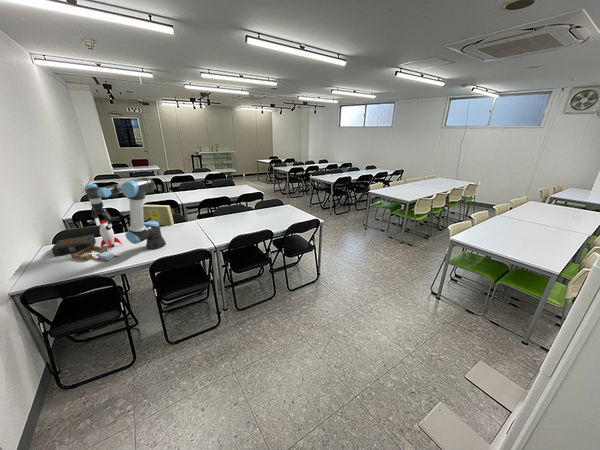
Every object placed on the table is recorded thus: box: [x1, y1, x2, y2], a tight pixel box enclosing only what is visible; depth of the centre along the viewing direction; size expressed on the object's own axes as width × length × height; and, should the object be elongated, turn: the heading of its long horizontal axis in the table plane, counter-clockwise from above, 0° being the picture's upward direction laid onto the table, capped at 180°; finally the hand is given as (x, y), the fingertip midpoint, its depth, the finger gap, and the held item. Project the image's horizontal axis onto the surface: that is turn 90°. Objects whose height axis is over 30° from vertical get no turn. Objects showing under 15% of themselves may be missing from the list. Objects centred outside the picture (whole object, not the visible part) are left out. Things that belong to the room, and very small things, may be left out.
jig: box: [70, 245, 119, 263], centre depth 194 cm, size 34×16×4 cm, turn 73°
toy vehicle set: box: [143, 204, 175, 226], centre depth 257 cm, size 35×5×22 cm, turn 85°
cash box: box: [51, 234, 97, 257], centre depth 206 cm, size 25×20×8 cm
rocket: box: [99, 220, 123, 250], centre depth 206 cm, size 11×11×25 cm
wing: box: [97, 251, 115, 261], centre depth 191 cm, size 9×6×4 cm, turn 73°
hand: (104, 226), depth 203 cm, fingers open, 13 cm apart
